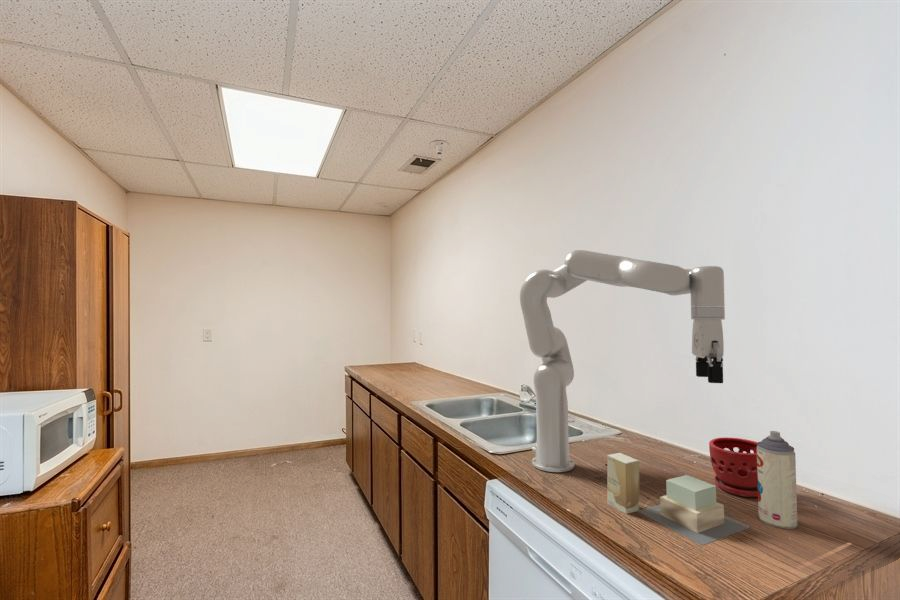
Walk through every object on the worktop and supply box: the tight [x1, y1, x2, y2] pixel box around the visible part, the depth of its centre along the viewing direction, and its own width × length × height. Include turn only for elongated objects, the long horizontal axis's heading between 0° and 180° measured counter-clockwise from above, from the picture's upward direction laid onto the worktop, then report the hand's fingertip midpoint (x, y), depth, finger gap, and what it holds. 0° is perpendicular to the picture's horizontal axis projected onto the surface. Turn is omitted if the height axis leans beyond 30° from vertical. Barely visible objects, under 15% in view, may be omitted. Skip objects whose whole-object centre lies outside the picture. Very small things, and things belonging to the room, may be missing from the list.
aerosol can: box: [757, 430, 798, 530], centre depth 94 cm, size 7×7×20 cm
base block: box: [659, 494, 725, 533], centre depth 95 cm, size 9×9×4 cm
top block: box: [665, 474, 717, 511], centre depth 95 cm, size 7×7×4 cm
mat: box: [636, 503, 751, 546], centre depth 95 cm, size 16×16×1 cm
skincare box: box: [606, 452, 640, 515], centre depth 102 cm, size 6×4×12 cm
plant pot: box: [708, 437, 759, 498], centre depth 111 cm, size 13×13×12 cm
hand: (709, 379), depth 110 cm, fingers open, 9 cm apart
